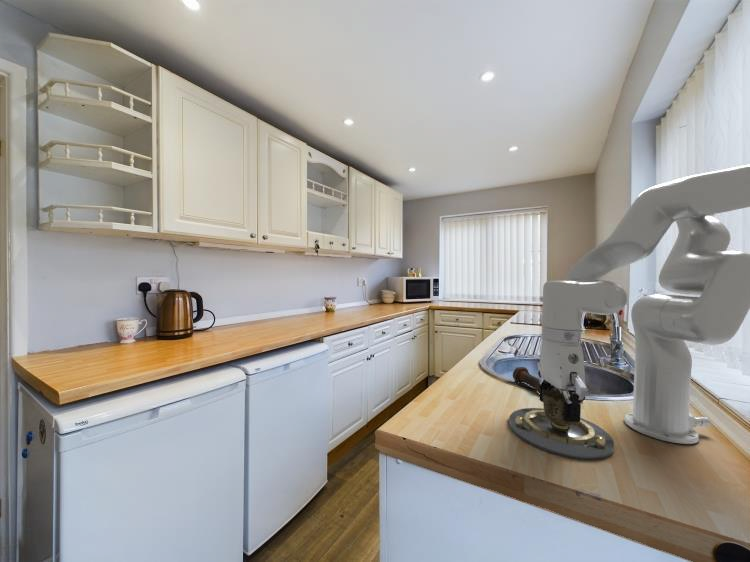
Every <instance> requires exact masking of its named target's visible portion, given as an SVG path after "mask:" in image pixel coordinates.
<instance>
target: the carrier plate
mask: <svg viewBox="0 0 750 562" xmlns="http://www.w3.org/2000/svg"><path fill="white" fill-rule="evenodd" d="M508 421H509V422H508V423H509V427H510V430H511V431H512V433H513V434H514V435H515V436H517V438H519V439H521V440H522V441H523V442H525V443H527V444H528V445H530V446H532V447H534V448H535V449H539V450H541V451H544V452H546V453H549V454H552V455H554V456H559V457H563V458H566V459H570V460H571V459H573V460H579V461H600V460H604V459H607V458H609V457H610V456H612V455H613V453H614V450H615V442H614V439H613V437H612V436H611V435H610V434H609V433H608V432H607V431H606V430H605V429H603V428H602V427H600V426H599V425H597V424H595V423H593V422H592V421H589V420H586V419H584V418H582V417H580V422H575V423H574V424H572V425H569V426H570V429H569V430H568V431H567V432H561V431H557V430H555V429H554V428H552V426H551V421H550V420H549V419H548V418H547V416H546V414H545V411H544V408H541V407H540V408H539V407H528V408H520V409H517V410H515V411H513V412H511V413H510V415H509V420H508Z"/></svg>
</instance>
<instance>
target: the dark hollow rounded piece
mask: <svg viewBox="0 0 750 562" xmlns="http://www.w3.org/2000/svg"><path fill="white" fill-rule="evenodd" d="M569 394H570V397H571V396H572V395H573V394H574V393H573V392H569ZM542 395H543V402H542V403H543V409H544V411H545V414H546V416H547V418H548V419H549V420H550V421H551V426H552V428H554V429H555V430H557V431H561V432H567V431H568V430H569V429H570V426H569V425H572V424H574V423H575V422H566V421H564V420H563V410H564V402H566V400H565V397H564V394H563V391H561V390H560V389H558V388H557V389H556V390H555V389H554V388H552V389H551V390H550V391H549V388H547V391H546V390H545V389H543V391H542Z"/></svg>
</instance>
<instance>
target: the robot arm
mask: <svg viewBox="0 0 750 562" xmlns="http://www.w3.org/2000/svg"><path fill="white" fill-rule="evenodd" d="M746 208H750V164H747V165H741V166H736V167H731V168H727V169H721V170H716V171H711V172H710V171H709V172H705V173H700V174H694V175H689V176H685V177H682V178H678V179H675V180H672V181H667V182H664V183H661V184H658V185H654V186H651V187H649V188H647V189H645V190H644V191H642V192H641V193H640V194H639V195H638V196H637V197H636V199H634V201H633V202H632V204H631V205H630V206H629V208H628V210H627V211H626V213H625V214H624V215H623V217H622V218H621V219H620V221H619V223H618V224H617V226H616V227H615V228H614V230H613V231H612V233H611V234H610V235H609V236H608V237H607V238H606V239H604V241H602V242H601V243H599V244H597V246H595V247H594V248H593V249H591V250H590V251H588V252H587V253H586V254H585V255H583V256H582V257H581V258H579V259H578V261H576V262H575V263H574V264H573V265H572V266H571V268H570V270H569V271H568V272H567V274H566V275H565V276H564V278H563V280H547V281H546V282H545V283H544V284H543V287H542V288H543V289H542V314H541V315H542V316H541V339H540V340H541V346H540V347H541V349H540V359H539V362H537V363H536V364H537V369H538V372H537V373H538V377H539V378H538V379H539V383H540V384H542V385H540V394H539V401H540V402H541V403H543V395H542V391H543V389H545V390H546V391H547V388H549V391H550V390H551V389H552V388H554V387H556V388H558V389H559V391H560V392H562V391H563V394H564V397H565V400H566V402H564V410H563V420H564V421H566V422H580V418H581V412H582V411H581V410H582V409H581V407H582V405H583V404H584V401H585V400H586V396H587V394H588V392H589V390H588V387H587V385H586V374H585V373H586V372H585V369H586V368H585V357H584V351H583V347H582V346H583V345H581V343H582V342H581V341H582V316H583V313H584V314H585V313H589V314H594V315H600V316H601V315H602V316H607V315H608V316H610V315H614V314H616V313H619V312H620V311H621V310H623V309H624V308H625V306H626V304H627V302H628V294H627V292H626V291H625V289H624V287H622V286H621V285H620V284H618V283H616V282H612V281H609V280H602V279H603V277H605V276H607V275H608V274H610V273H611V272H614V271H616V270H618V269H620V268H624V267H626V266H628V265H631V264H634V263H636V262H639V261H640V260H641V261H642V260H643V259H646V258H647V257H649V256H650V255H651V254H652V253H654V251H655V249H656V248H657V246H658V245H659V243H660V241H661V240H662V239H663V237H664V236H665V235H666V233H667V232H668V230H669V229H670V227H672V224H673V223H674V222H676V225H677V229H678V235H677V238H676V240H675V242H674V244H673V246H672V248H671V249H670V251H669V253H668V255H667V258H666V259H665V261H664V264H663V265H662V267H661V269H660V271H659V274H658V283H659V286H660V287H661V288H662V289H664V290H666V291H668V292H669V293H674V294H664V293H663V294H661V293H660V294H656V293H655V294H648V295H645V296H643V297H640V298H638V299H637V300H636V301H635V302H634V304H633V306H632V307H631V310H630V311H631V312H630V317H631V323H632V327H633V332H634V340H635V341H634V342H635V345H634V348H635V352H634V354H635V356H634V374H633V375H634V376H633V377H634V378H633V400H632V401H633V402H632V403H633V405H632V412H629V413H626V414H625V415H624V423H625V424H626V425H627V426H628V427H630V428H632V429H633V430H635V431H636V432H638V433H641V434H643V435H645V436H648V437H650V438H654V439H656V440H661V441H664V442H669V443H673V444H680V445H693V444H696V443H698V442H699V441H700V439H699V438H700V436H699V435H700V434H699V433H698V432H697V431H696V430H695V429H694V428H696V427H697V426H700V427H710V426H711V425H712V424H711V423H712V422H711V420H710V418H708V417H705V416H694V415H693V414H691V413H690V411H691V410H690V405H691V389H692V388H691V386H692V385H691V384H692V383H691V382H692V368H693V366H692V365H693V360H692V355H691V351H690V349H689V348H688V347H689V346H688V345H687V344H686V341H687V342H692V343H697V344H702V345H709V346H718V345H723V344H725V343H727V342H729V341H730V340H732V338H734V337H735V335H736V334H737V332H738V331H739V329H740V327H741V325H742V324H743V323H744V320H745V319H746V316H747V315H748V313H749V310H750V254H749V253H748V252H743V251H740V250H738V251H736V250H727V249H728V248H729V245H730V243H731V233H730V231H729V229H728V228H727V226H725V225H724V224H723V223H722V222H721V221H720V219H719V218H718V217H717V215H716V214H722V213H728V212H731V211H737V210H741V209H746ZM677 294H680V295H677ZM687 295H692V296H687ZM569 392H573V395H572V396H571V397H570V394H569Z"/></svg>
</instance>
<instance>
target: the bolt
mask: <svg viewBox="0 0 750 562" xmlns="http://www.w3.org/2000/svg"><path fill="white" fill-rule="evenodd" d="M512 379H513V380H514V382H515V381H516V382H515V383H517V382H519V383H518V384H526V385H528V386H529V387H531V386H532V388H534V390H535V391H538V392H539V393H540V385H542V384H540V383H539V379H540V378H538V377H536V376H534V375H532V374H530V373H529V370H528V369H527V367H524V366H518V367H515V369H514V370H513V372H512ZM554 389H555V390H556V389H557V388H556V387H554Z"/></svg>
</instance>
